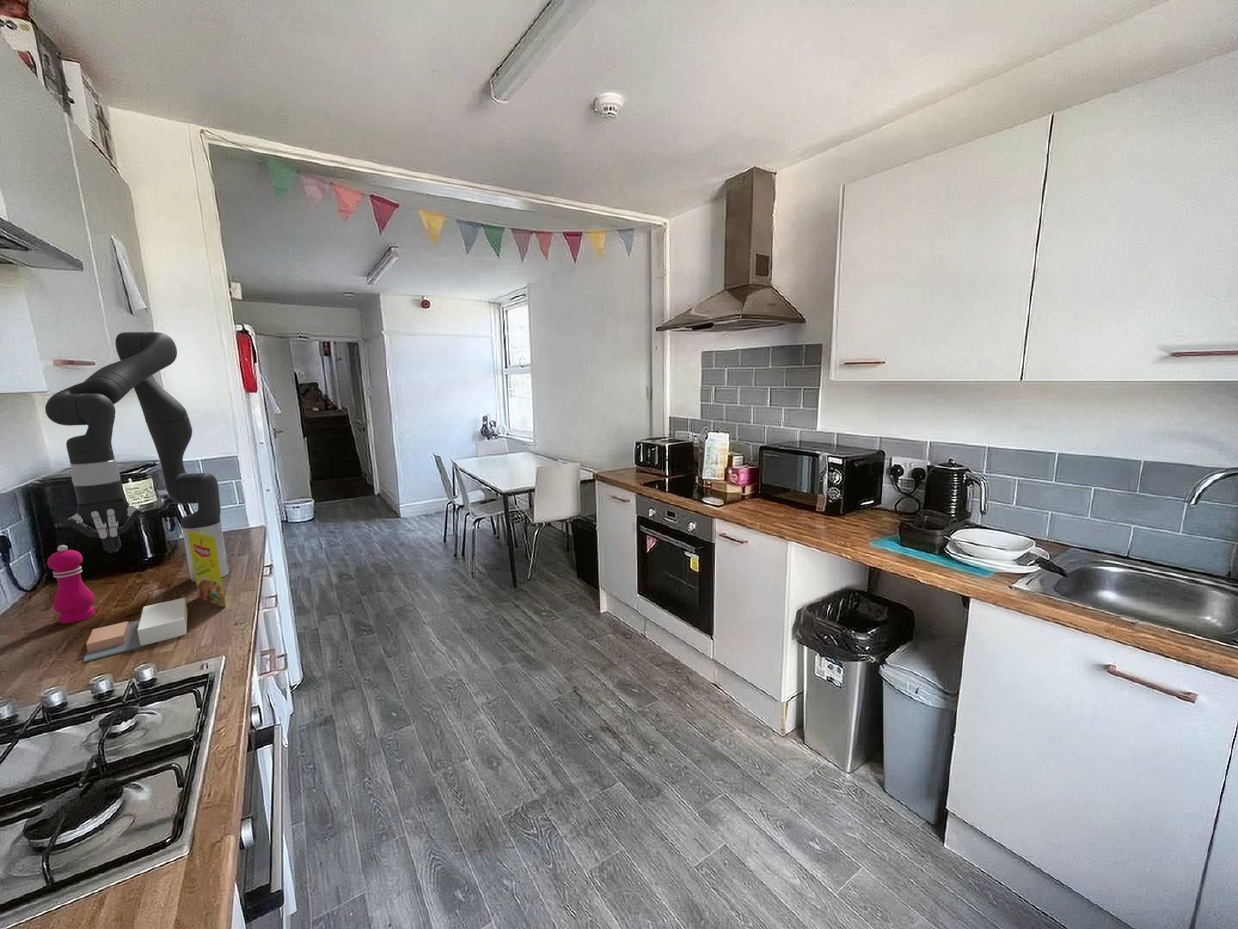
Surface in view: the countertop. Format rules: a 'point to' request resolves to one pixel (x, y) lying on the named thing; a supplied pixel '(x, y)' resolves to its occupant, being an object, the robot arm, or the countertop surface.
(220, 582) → the food package
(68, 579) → the pepper mill
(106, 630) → the terracotta tile
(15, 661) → the countertop surface
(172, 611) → the white box
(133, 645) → the rubber mat
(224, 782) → the countertop surface
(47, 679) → the countertop surface
